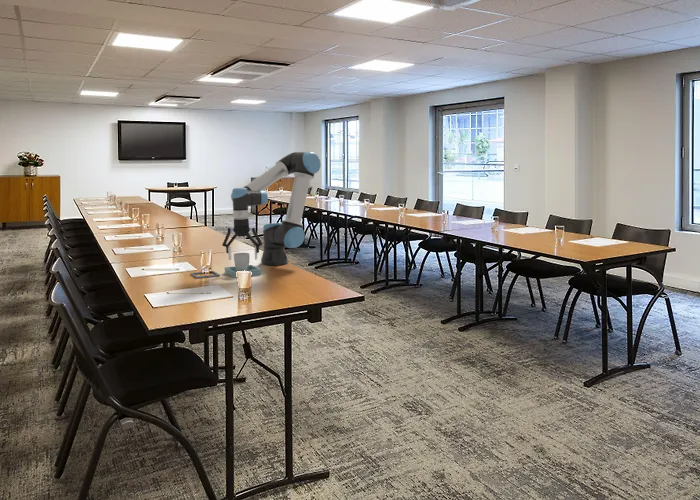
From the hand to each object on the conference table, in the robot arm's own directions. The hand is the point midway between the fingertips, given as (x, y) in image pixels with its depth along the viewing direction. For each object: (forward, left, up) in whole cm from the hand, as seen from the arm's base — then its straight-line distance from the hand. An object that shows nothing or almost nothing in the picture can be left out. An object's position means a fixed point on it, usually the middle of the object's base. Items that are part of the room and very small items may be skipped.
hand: (243, 259), depth 301 cm
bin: (0, 0, -8) cm, 8 cm away
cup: (+1, 0, -7) cm, 7 cm away
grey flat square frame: (+18, -6, -8) cm, 21 cm away
